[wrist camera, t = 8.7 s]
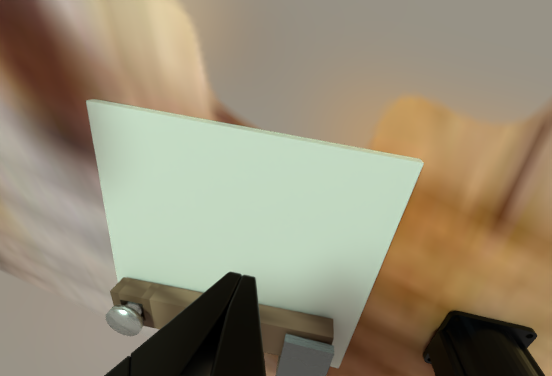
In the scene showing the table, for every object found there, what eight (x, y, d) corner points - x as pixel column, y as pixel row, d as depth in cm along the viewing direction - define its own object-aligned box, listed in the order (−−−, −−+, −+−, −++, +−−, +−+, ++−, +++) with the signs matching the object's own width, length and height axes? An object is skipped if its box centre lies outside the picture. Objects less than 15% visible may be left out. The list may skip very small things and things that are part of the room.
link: (130, 304, 28) (117, 319, 26) (123, 276, 26) (110, 291, 24) (326, 346, 25) (326, 366, 24) (333, 318, 24) (333, 337, 22)
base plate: (419, 158, 18) (445, 187, 14) (338, 360, 28) (339, 409, 24) (94, 99, 20) (38, 109, 16) (128, 306, 30) (98, 343, 26)
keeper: (333, 320, 24) (334, 354, 21) (318, 363, 27) (317, 397, 24) (289, 309, 25) (284, 341, 22) (279, 353, 27) (273, 386, 25)
